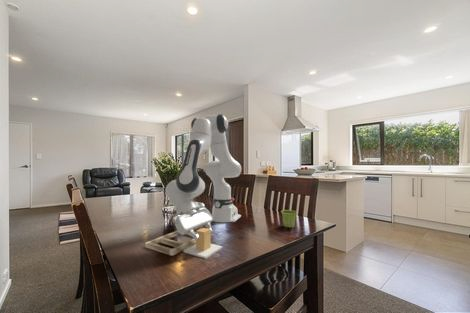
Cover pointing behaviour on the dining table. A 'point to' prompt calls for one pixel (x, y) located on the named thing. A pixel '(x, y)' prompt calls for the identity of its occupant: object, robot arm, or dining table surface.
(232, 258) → the dining table surface
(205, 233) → the ochre block
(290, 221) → the plant pot
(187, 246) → the puzzle board
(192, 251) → the white square plate
